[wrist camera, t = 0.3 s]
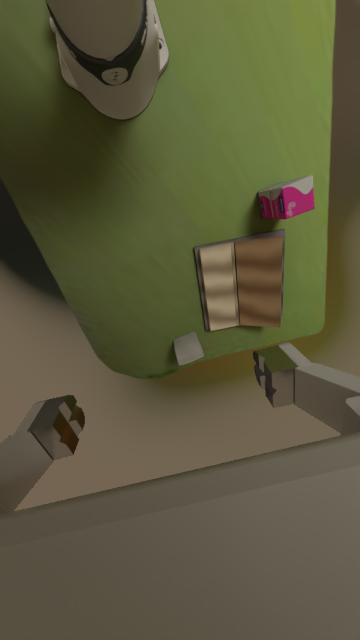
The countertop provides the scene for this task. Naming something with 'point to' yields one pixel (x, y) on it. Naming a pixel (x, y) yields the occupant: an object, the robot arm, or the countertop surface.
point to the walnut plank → (259, 281)
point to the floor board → (224, 280)
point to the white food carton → (188, 348)
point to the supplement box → (287, 198)
